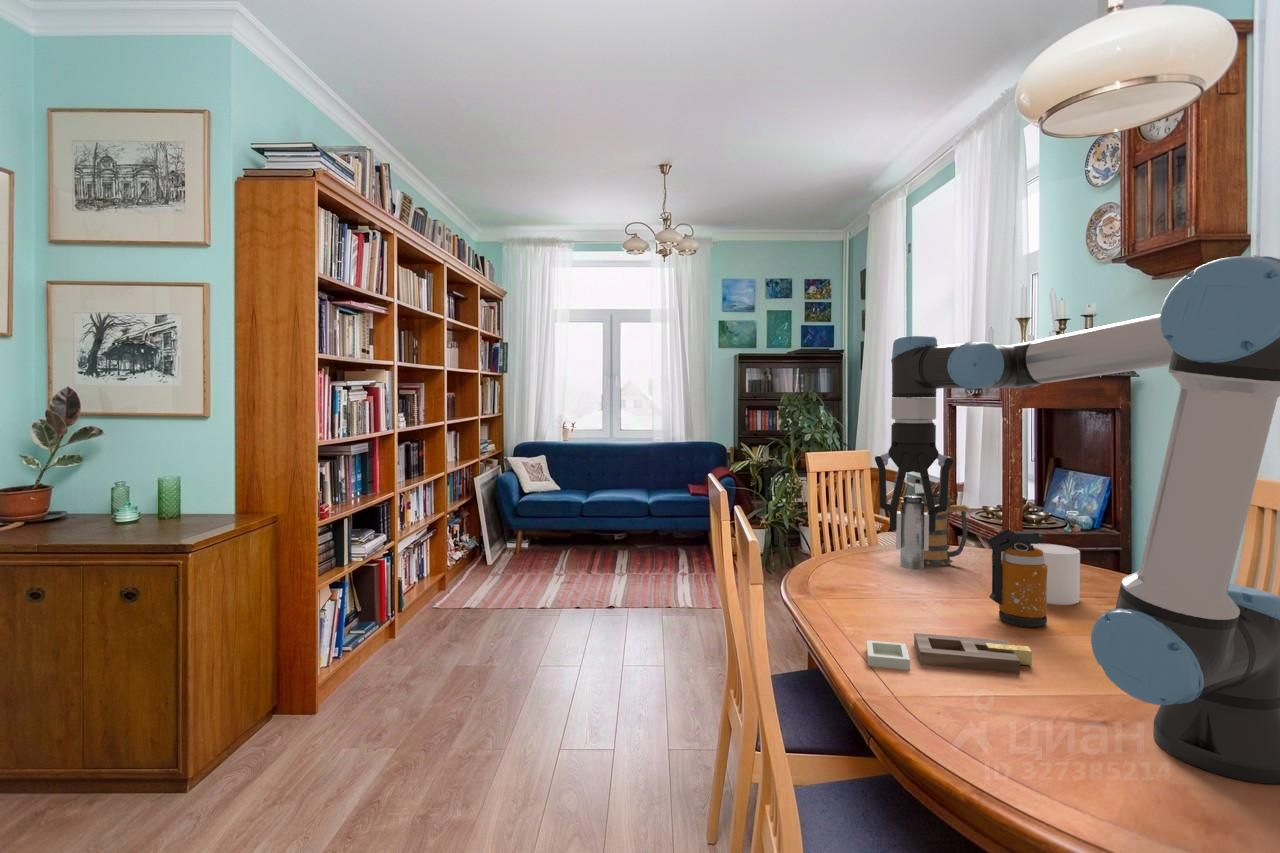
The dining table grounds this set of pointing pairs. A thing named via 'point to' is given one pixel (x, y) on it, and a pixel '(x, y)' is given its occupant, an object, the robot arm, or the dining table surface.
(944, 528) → the mug
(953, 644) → the socket block
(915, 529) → the metal round-nosed cylinder
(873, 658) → the pale grey square tray
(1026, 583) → the canister
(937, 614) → the dining table surface
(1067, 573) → the cup
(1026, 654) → the bar
